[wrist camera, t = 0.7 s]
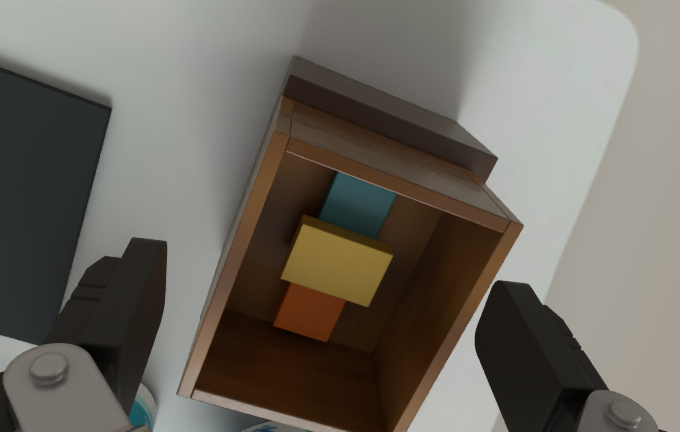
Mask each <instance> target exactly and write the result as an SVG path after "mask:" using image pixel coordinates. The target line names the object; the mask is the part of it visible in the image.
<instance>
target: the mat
mask: <svg viewBox="0 0 680 432" xmlns="http://www.w3.org/2000/svg"><path fill="white" fill-rule="evenodd" d="M111 111H112V109H111V108H109V107H106V106H103V105H100V104H98V103H95V102H92V101H90V100H87V99H84V98H81V97H79V96H76V95H73V94H71V93H68V92H65V91H62V90H60V89H57V88H54V87H52V86H49V85H46V84H43V83H41V82H38V81H35V80H32V79H30V78H27V77H24V76H22V75H19V74H16V73H13V72H11V71H8V70H5V69H3V68H0V335H3V336H6V337H10V338H13V339H17V340H21V341H24V342H28V343H31V344H35V345H39V346H41V345H42V343H43V341H44V340H45V338H46V336H47V335H48V333H49V331H50V330H51V328H52V326H53V325H54V323H55V321H56V320H57V318H58V316H59V312H60V308H61V304H62V300H63V296H64V293H65V289H66V285H67V281H68V277H69V273H70V269H71V265H72V262H73V258H74V254H75V250H76V246H77V242H78V238H79V234H80V231H81V227H82V223H83V219H84V215H85V211H86V207H87V203H88V200H89V196H90V192H91V188H92V184H93V180H94V176H95V172H96V169H97V165H98V161H99V157H100V153H101V149H102V145H103V142H104V138H105V134H106V130H107V126H108V122H109V118H110V114H111Z"/></svg>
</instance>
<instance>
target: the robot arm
mask: <svg viewBox="0 0 680 432" xmlns="http://www.w3.org/2000/svg"><path fill="white" fill-rule="evenodd" d="M166 268H167V242H166V241H162V240H153V239H144V238H136V237H133V238H132V239H131V240H130V242H129V244H128V246H127V248H126V250H125V252H124V254H123V256H122V258H118V257H109V256H104V257H103V258H101V259H100V260H98V261H97V262H95V263H94V264H93V265H91V266H90V267H88V268H87V269H86V271H85V273H84V274H83V276H82V278H81V279H80V281H79V283H78V287H77V286H76V288H75V290H74V291H73V293H72V295H71V298H70V299H69V300H68V301H67V303H66V305H65V306H64V308H63V310H62V311H61V313H60V315H59V316H58V318H57V320H56V321H55V323H54V325H53V326H52V328H51V330H50V331H49V333H48V335H47V336H46V338H45V340H44V341H43V343H42V345H41V346H37V347H34V348H32V349H29V350H27V351H25V352H23V353H22V354H20V355H19V356H17V357H16V358H15V359H14V360H12V361H11V363H10V364H9V365H8V366H7V368H6V370H5V371H4V372H1V373H0V432H153V431H152V430H151V429H150V428H149V427H148V426H147V425H145V424H141V425H139V426H136V427H134V426H133V425H132V423H131V422H130V420H129V415H130V412H131V409H132V406H133V403H134V400H135V397H136V394H137V391H138V388H139V385H140V382H141V379H142V376H143V373H144V370H145V368H146V365H147V362H148V359H149V356H150V353H151V350H152V347H153V344H154V341H155V338H156V335H157V332H158V329H159V326H160V323H161V319H162V315H163V310H164V304H165V293H166ZM475 349H476V353H477V356H478V358H479V360H480V363H481V365H482V368H483V370H484V373H485V375H486V377H487V380H488V382H489V385H490V387H491V390H492V392H493V394H494V397H495V399H496V402H497V404H498V407H499V409H500V412H501V414H502V416H503V419H504V421H505V424H506V426H507V428H508V431H509V432H666V431H663V430H660V429H658V426H657V424H656V422H655V421H654V419H653V418H652V416H651V415H650V414H649V413H648V412H647V411H646V410H645V409H644V408H643V407H642V406H640V405H639V404H638V403H636V402H635V401H633V400H632V399H630V398H628V397H626V396H624V395H622V394H619V393H616V392H613V391H610V390H609V389H608V387H607V386H606V384H605V383H604V381H603V380H602V378H601V377H600V375H599V374H598V372H597V371H596V369H595V368H594V366H593V365H592V363H591V362H590V360H589V358H588V357H587V355H586V354H585V353H584V351H582V350H581V346H580V345H579V343H578V342H577V340H576V339H575V338H573V334H572V333H571V331H570V330H569V328H568V327H567V325H566V324H565V322H564V320H563V319H562V318H560V317H559V316H558V315H557V314H556V313H555V312H553V311H552V310H551V309H550V308H549V307H548V306H547V305H542V303H541V302H540V300H539V299H538V297H537V296H536V294H535V292H534V291H533V289H532V288H531V286H530V285H529V284H527V283H518V282H510V281H501V280H498V281H496V282H495V283H494V285H493V286H492V288H491V291H490V294H489V296H488V299H487V302H486V304H485V307H484V309H483V312H482V315H481V317H480V320H479V322H478V325H477V328H476V332H475Z"/></svg>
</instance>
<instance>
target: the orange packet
mask: <svg viewBox="0 0 680 432" xmlns="http://www.w3.org/2000/svg"><path fill="white" fill-rule="evenodd" d="M346 301H347V300H344V299H341V298H338V297H335V296H332V295H329V294H326V293H323V292H320V291H317V290H314V289H311V288H307V287H304V286H301V285H298V284H295V283H292V282H289V281H287V284H286V286H285V288H284V291H283V293H282V295H281V298H280V300H279V303H278V305H277V307H276V310H275V312H274V319H273V326H275V327H278V328H281V329H285V330H288V331H291V332H294V333H298V334H301V335H304V336H307V337H311V338H314V339H317V340H320V341H324V342H327V341H328V339H329V337H330V335H331V333H332V331H333V328H334V326H335V324H336V322H337V320H338V318H339V316H340V314H341V312H342V309H343V307H344V305H345V303H346Z"/></svg>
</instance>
